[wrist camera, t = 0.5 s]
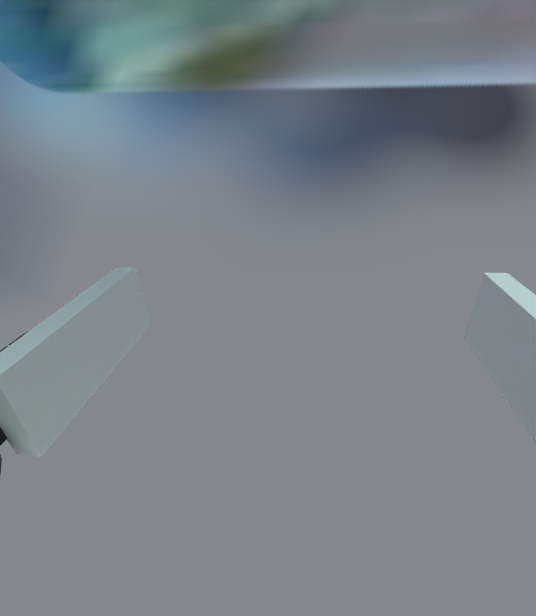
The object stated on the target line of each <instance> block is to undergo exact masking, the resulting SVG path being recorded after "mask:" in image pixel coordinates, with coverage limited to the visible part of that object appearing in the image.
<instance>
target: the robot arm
mask: <svg viewBox="0 0 536 616" xmlns="http://www.w3.org/2000/svg"><path fill="white" fill-rule="evenodd" d="M149 325H150V323H149V319H148V316H147V311H146V308H145V304H144V300H143V296H142V292H141V289H140V284H139V280H138V277H137V273H136V269H135V267H117V268H116V269H114V270H113V271H112V272H110V273H109V274H107V275H106V276H105V277H103V278H102V279H101V280H99V281H98V282H96V283H95V284H94V285H92V286H91V287H90V288H88V289H87V290H85V291H84V292H83V293H81V294H80V295H78V296H77V297H76V298H75V299H73V300H72V301H70V302H69V303H67V304H66V305H65V306H63V307H62V308H61V309H59V310H58V311H56V312H55V313H54V314H52V315H51V316H50V317H48V318H47V319H46V320H44V321H43V322H41V323H40V324H39V325H37V326H36V327H35V328H33V329H32V330H30V331H29V332H27V333H25V334H23V335H22V336H20V337H19V338H17V339H16V340H15V341H13V342H12V343H10V344H9V346H6V347H5V348H3V349H2V350H1V351H0V445H1V444H2V443H3V442H4V441H5V440H6V439H7V440H8V442H9V443H10V445H11V447H12V448H13V449H14V451H15V453H16V454H22V455H33V456H42V455H43V454H44V453H45V451H46V450H47V449H48V448H49V447H50V445H51V444H52V443H53V442H54V441H55V439H56V438H57V437H58V436H59V435H60V433H61V432H62V431H63V429H64V428H65V427H66V426H67V425H68V423H69V422H70V421H71V420H72V419H73V418H74V416H75V415H76V414H77V413H78V411H79V410H80V409H81V408H82V406H83V405H84V404H85V403H86V402H87V401H88V399H89V398H90V397H91V396H92V394H93V393H94V392H95V391H96V390H97V388H98V387H99V386H100V385H101V384H102V382H103V381H104V380H105V379H106V377H107V376H108V375H109V374H110V373H111V371H112V370H113V369H114V368H115V367H116V365H117V364H118V363H119V362H120V360H121V359H122V358H123V357H124V356H125V354H126V353H127V352H128V351H129V349H130V348H131V347H132V346H133V345H134V343H135V342H136V341H137V340H138V338H139V337H140V336H141V335H142V334H143V333H144V331H145V330H146V329H147V328H148V326H149ZM464 339H465V340H466V342H467V343H468V344H469V346H470V347H471V349H472V350H473V352H474V353H475V354H476V356H477V358H478V359H479V361H480V362H481V363H482V365H483V366H484V368H485V369H486V370H487V372H488V374H489V375H490V377H491V378H492V379H493V381H494V382H495V384H496V385H497V387H498V388H499V390H500V391H501V393H502V394H503V395H504V397H505V398H506V399H507V401H508V403H509V404H510V405H511V407H512V409H513V410H514V411H515V413H516V414H517V416H518V417H519V419H520V420H521V422H522V423H523V425H524V426H525V427H526V429H527V430H528V432H529V433H530V435H531V436H532V437H533V439H534V440H535V442H536V295H535V294H533V293H532V292H531V291H529V290H528V289H527V288H526V287H524V286H523V285H522V284H520V283H519V282H518V281H517V280H515V279H514V278H513V277H512V276H510V275H509V274H508V273H484V274H483V277H482V281H481V283H480V287H479V290H478V293H477V296H476V300H475V303H474V306H473V309H472V312H471V315H470V318H469V321H468V325H467V328H466V331H465V334H464ZM1 461H2V459H1V455H0V473H1Z"/></svg>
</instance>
